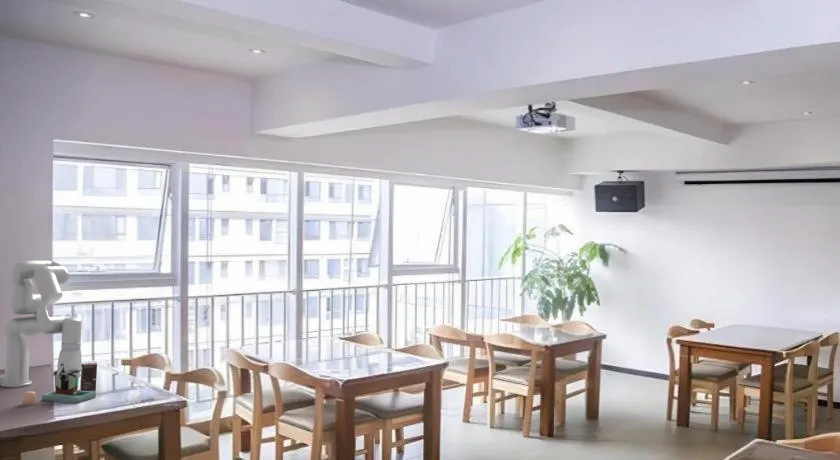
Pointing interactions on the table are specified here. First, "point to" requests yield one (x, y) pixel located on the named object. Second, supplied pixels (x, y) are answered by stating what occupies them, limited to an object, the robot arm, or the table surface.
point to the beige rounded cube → (28, 398)
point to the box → (88, 376)
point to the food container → (72, 384)
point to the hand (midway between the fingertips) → (69, 387)
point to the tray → (69, 397)
